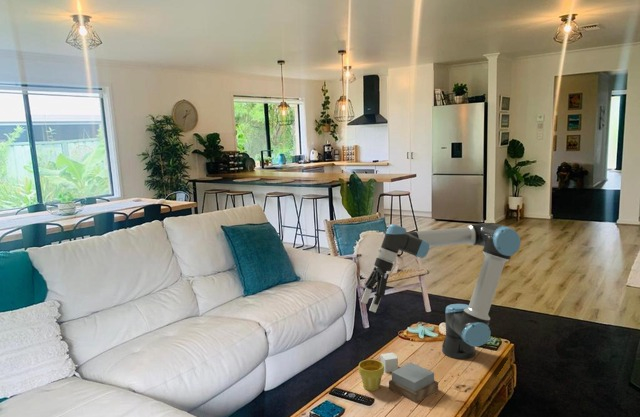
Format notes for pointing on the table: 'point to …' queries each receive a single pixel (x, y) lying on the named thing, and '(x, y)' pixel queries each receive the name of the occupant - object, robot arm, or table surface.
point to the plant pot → (371, 373)
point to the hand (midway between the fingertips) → (367, 307)
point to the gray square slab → (413, 377)
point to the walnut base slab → (414, 395)
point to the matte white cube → (389, 362)
